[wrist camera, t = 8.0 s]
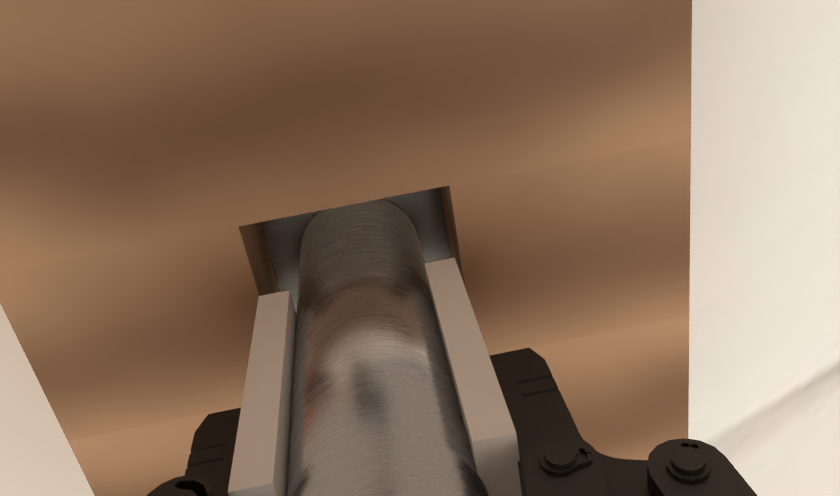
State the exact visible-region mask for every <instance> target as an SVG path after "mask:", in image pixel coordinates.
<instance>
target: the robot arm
mask: <svg viewBox="0 0 840 496" xmlns="http://www.w3.org/2000/svg"><path fill="white" fill-rule="evenodd" d="M425 269H426V275H427V280H428V286H429V291H430V295H431V298H432V302H433V306H434V310H435V314H436V318H437V321H438V325H439V329H440V333H441V337H442V341H443V344H444V348H445V352H446V356H447V360H448V363H449V367H450V371H451V375H452V379H453V383H454V386H455V390H456V394H457V398H458V402H459V405H460V409H461V413H462V417H463V421H464V425H465V428H466V432H467V436H468V440H469V444H470V448H471V451H472V455H473V459H474V463H475V467H476V470H477V474H478V476H479V477H480V479H481V480H482V482H483V483H484V485H485V488H486V490H487V492H488V495H489V496H757V495H756V493H755V492H754V491H753V490H752V489H751V487H750V486H749V485H748V484H747V482H746V481H745V480H744V479H743V478H742V476H741V475H740V474H739V473H738V471H737V470H736V469H735V468H734V466H733V465H732V464H731V463H730V462H729V460H728V459H727V458H726V457H725V456H724V455H723V454H722V453H721V452H720V451H718V450H717V449H716V448H715V447H713V446H711V445H709V444H706V443H704V442H702V441H699V440H692V439H685V438H682V439H674V440H668V441H666V442H664V443H661V444H659V445H657V446H656V447H655V448H654V449H653V450H652V451H651V452H650V454H649V457H648V460H632V459H620V458H613V457H610V456H607V455H604V454H601V453H599V452H597V451H596V450H595V449H594V447H593V446H591V445H590V444H589V443H587V442H586V441H585V440H583V438H582V437H581V435H580V433H579V431H578V429H577V427H576V425H575V422H574V420H573V418H572V416H571V414H570V412H569V410H568V408H567V405H566V403H565V401H564V399H563V397H562V395H561V393H560V391H559V389H558V386H557V384H556V382H555V380H554V378H553V376H552V373H551V371H550V369H549V367H548V365H547V363H546V360H545V359H544V358H543V357H541V356H540V355H539V354H537V353H536V352H535V351H533V350H532V349H531V348H524V349H519V350H514V351H509V352H504V353H499V354H495V355H490V356H489V354H488V351H487V348H486V345H485V342H484V340H483V337H482V334H481V331H480V328H479V325H478V323H477V320H476V317H475V314H474V311H473V308H472V306H471V303H470V300H469V297H468V294H467V291H466V289H465V286H464V283H463V280H462V277H461V274H460V272H459V269H458V266H457V263H456V260H455V257H454V258H449V259H444V260H439V261H434V262H429V263H425ZM296 324H297V316H296V312H295V309H294V305H293V302H292V298H291V295H290V291H289V290H287V291H282V292H277V293H272V294H267V295H262V296H259V298H258V304H257V310H256V317H255V323H254V329H253V336H252V342H251V348H250V354H249V361H248V367H247V373H246V380H245V386H244V392H243V399H242V405H241V408H236V409H231V410H226V411H221V412H216V413H211V414H208V415H207V416H206V418H205V419H204V420H203V422H202V423H201V424H200V426H199V427H198V429H197V430H196V431H195V433H194V438H193V442H192V446H191V454H189V459H188V463H187V469H186V471H185V476H180V477H175V478H173V479H171V480H169V481H167V482H164V483H162V484H160V485H159V486H158V487H156V488H155V489H154V490H152V491H151V492H150V493H148V495H147V496H286V485H287V469H288V453H289V436H290V420H291V404H292V388H293V372H294V356H295V340H296Z"/></svg>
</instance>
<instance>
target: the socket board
mask: <svg viewBox="0 0 840 496" xmlns="http://www.w3.org/2000/svg"><path fill="white" fill-rule="evenodd" d="M691 29H692V0H0V303H1V305H2V307H3V309H4V311H5V313H6V315H7V317H8V319H9V322H10V323H11V325H12V328H13V330H14V332H15V334H16V336H17V338H18V340H19V342H20V344H21V346H22V348H23V350H24V352H25V354H26V356H27V358H28V360H29V362H30V364H31V366H32V368H33V370H34V372H35V375H36V377H37V379H38V381H39V383H40V385H41V387H42V389H43V391H44V393H45V395H46V397H47V399H48V401H49V403H50V405H51V407H52V409H53V411H54V413H55V415H56V417H57V419H58V421H59V423H60V426H61V428H62V430H63V432H64V434H65V436H66V438H67V440H68V442H69V444H70V446H71V448H72V450H73V452H74V454H75V456H76V458H77V460H78V462H79V464H80V466H81V468H82V470H83V472H84V474H85V476H86V479H87V481H88V483H89V485H90V487H91V489H92V491H93V493H94V495H95V496H147V495H148V493H150V492H151V491H152V490H154V489H155V488H156V487H158V486H159V485H160V484H162V483H164V482H167V481H169V480H171V479H173V478H175V477H180V476H185V471H186V469H187V463H188V459H189V454H191V446H192V442H193V438H194V433H195V431H196V430H197V429H198V427H199V426H200V424H201V423H202V422H203V420H204V419H205V418H206V416H207V415H208V414H211V413H216V412H221V411H226V410H231V409H236V408H241V405H242V399H243V392H244V386H245V380H246V373H247V367H248V361H249V354H250V348H251V342H252V336H253V329H254V323H255V317H256V310H257V304H258V298H259V296H262V295H267V294H272V293H277V292H280V290H279V286H278V283H277V279H276V276H275V272H274V269H273V265H272V262H271V258H270V255H269V251H268V248H267V244H266V241H265V237H264V234H263V230H262V227H261V223H260V222H264V221H269V220H275V219H280V218H285V217H290V216H295V215H300V214H306V213H311V212H316V211H321V210H326V209H331V208H336V207H342V206H347V205H352V204H357V203H362V202H367V201H372V200H378V199H383V198H388V197H393V196H398V195H403V194H408V193H414V192H419V191H424V190H429V189H434V188H439V187H440V191H441V197H442V204H443V210H444V216H445V222H446V229H447V235H448V241H449V248H450V254H451V258H454V257H455V260H456V263H457V266H458V269H459V272H460V274H461V277H462V280H463V283H464V286H465V289H466V291H467V294H468V297H469V300H470V303H471V306H472V308H473V311H474V314H475V317H476V320H477V323H478V325H479V328H480V331H481V334H482V337H483V340H484V342H485V345H486V348H487V351H488V354H489V356H490V355H495V354H499V353H504V352H509V351H514V350H519V349H524V348H531V349H532V350H533V351H535V352H536V353H537V354H539V355H540V356H541V357H543V358H544V359H545V360H546V363H547V365H548V367H549V369H550V371H551V373H552V376H553V378H554V380H555V382H556V384H557V386H558V389H559V391H560V393H561V395H562V397H563V399H564V401H565V403H566V405H567V408H568V410H569V412H570V414H571V416H572V418H573V420H574V422H575V425H576V427H577V429H578V431H579V433H580V435H581V437H582V438H583V440H585V441H586V442H587V443H589V444H590V445H591V446H593V447H594V449H595V450H596V451H597V452H599V453H601V454H604V455H607V456H610V457H613V458H620V459H632V460H648V457H649V454H650V452H651V451H652V450H653V449H654V448H655V447H656V446H657V445H659V444H661V443H664V442H666V441H668V440H674V439H682V438H685V439H688V385H689V266H690V148H691Z"/></svg>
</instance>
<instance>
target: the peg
mask: <svg viewBox="0 0 840 496" xmlns="http://www.w3.org/2000/svg"><path fill="white" fill-rule="evenodd" d="M286 496H489V495H488V492H487V490H486V488H485V485H484V483H483V482H482V480H481V479H480V477H479V476H478V474H477V470H476V467H475V463H474V459H473V455H472V451H471V448H470V444H469V440H468V436H467V432H466V428H465V425H464V421H463V417H462V413H461V409H460V405H459V402H458V398H457V394H456V390H455V386H454V383H453V379H452V375H451V371H450V367H449V363H448V360H447V356H446V352H445V348H444V344H443V341H442V337H441V333H440V329H439V325H438V321H437V318H436V314H435V310H434V306H433V302H432V298H431V295H430V291H429V286H428V280H427V275H426V269H425V260H424V257H423V253H422V249H421V245H420V242H419V238H418V234H417V231H416V229H415V226H414V225H413V223H412V221H411V220H410V218H409V217H408V216H407V215H406V213H405V212H403V211H402V210H401V209H400V208H399V207H397V206H396V205H395V204H393V203H391V202H389V201H387V200H384V199H378V200H372V201H367V202H362V203H357V204H352V205H347V206H342V207H336V208H331V209H326V210H321V211H319V212H318V213H316V214H315V215H314V217H313V218H312V219H311V220H310V222H309V224H308V225H307V227H306V229H305V232H304V234H303V238H302V243H301V255H300V271H299V287H298V303H297V324H296V340H295V356H294V372H293V388H292V404H291V420H290V436H289V453H288V469H287V485H286Z"/></svg>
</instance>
